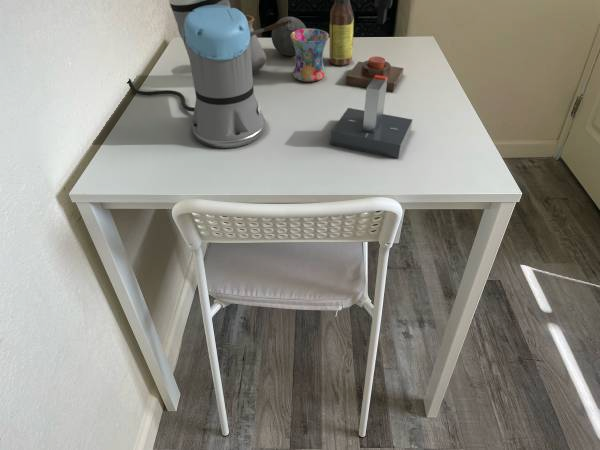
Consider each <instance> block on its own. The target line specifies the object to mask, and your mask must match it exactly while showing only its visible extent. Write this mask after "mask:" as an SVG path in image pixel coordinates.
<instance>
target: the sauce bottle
mask: <svg viewBox="0 0 600 450" xmlns="http://www.w3.org/2000/svg"><path fill="white" fill-rule="evenodd" d="M354 22H355V15H354V11H353V8H352V4H351V0H334V3H333V5H332V6H331V8H330V13H329V62H330V63H331V64H332V65H335V66H347V65H350V64H351V63H352V61H353V55H354V53H353V51H354V48H353V47H354V29H355V28H354V26H355V23H354Z"/></svg>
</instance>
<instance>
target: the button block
mask: <svg viewBox="0 0 600 450" xmlns="http://www.w3.org/2000/svg"><path fill="white" fill-rule="evenodd" d="M368 63H369V59H368V60H365V61H357V62H356V64H355V65H354V66H353V68H351V70H350V71H349V73H348V74H347V75H346V81H345V82H346V83H345V85H349V86H354V87H355V86H356V87H361V88H366V89H367V87H368V85H369V84H370V82H371V81H372V80H373V78H374V77H375V75H380V76H386V77H387V78H388V79H387V87H386V92H391V93H394V92H395V90H396V88H397V87H398V85H399V83H400V81H401V79H402V78H403V76H404V67H399V66H393V65H391V63H390V62H389V61H386V60H385V66H384V68H379V69H375V68H371V67H368Z"/></svg>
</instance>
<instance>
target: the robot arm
mask: <svg viewBox="0 0 600 450" xmlns="http://www.w3.org/2000/svg"><path fill="white" fill-rule="evenodd" d="M168 2H169V5H170V9H171V11H172V14H173V16H174V19H175V22H176V25H177V30H178V33H179V36H180V38H181V40H182V42H183V45H184V48H185V50H186V53H187V56H188V59H189V65H190V70H191V77H192V81H193V88H194V93H195V104H194V107H192V106H188V105H187V103H186V97H185V96H184V95H183V93H181V92H179V91H178V90H172V89H171V90H168V89H164V90H150V91H148V90H147V91H144V90H139V89H137V88H136V87H135V86H134V83H133V81H132V79H130V78H128V79H129V81H128V82H127V83H126V84H128V86H129V88H130V90H131V91H132V92H133V93H134V94H137V95H140V96H156V95H174V96H177V97H179V98H180V101H181V106H182V108H183V109H184V110H186V111H188V112H193V115H192V121H191V128H192V135H193V137H194V139H195V141H197V142H199V143H201V144H202V145H203V146H207V147H210V148H217V149H233V148H239V147H244V146H246V145H249V144H252V143H254V142H256V141H258V140H259V139H260V138H261V137H262V136H263V135H264V133H265V132H266V131H265V130H266V122H265V117H264V114H263V112H262V110H261V103H260V101H258V100H257V97H256V95H255V91H254V89H255V88H254V78H253V77H254V75H253V74H252V62H251V49H250V30H249V27H248V21H247V19H246V17H245V15H246V14H244V13H243V12H242V11H241V10H239V9H238V8H236V7H231V2H230V0H168ZM373 5H374V8H377V16H376V24H377V25H384V24H385V23H386V21H387V13H388V9H391V8H392V5H393V0H374V1H373Z"/></svg>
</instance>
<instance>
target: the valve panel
mask: <svg viewBox="0 0 600 450" xmlns="http://www.w3.org/2000/svg"><path fill="white" fill-rule="evenodd" d="M363 121H364V110H363V109H357V108H352V107H347V109H346V110H345V111H344V113H343V114H342V115H341V117H340V119H339V120H338V121H337V122H336V124H335V125H334V128H332V129H331V131H330V146H335V147H341V148H346V149H351V150H354V151H355V150H356V151H360V152H365V153H370V154H375V155H380V156H384V157H388V158H395V159H399V158H400V156H401V154H402V152H403V149H404V147H405V145H406V143H407V141H408V138H409V137H410V133H411V131H412V126H413V119H412V118H408V117H407V118H406V117H401V116H396V115H391V114H384V113H383V119H382V121H381V123H380V125H379V126H378V128H377V130H376V131H375V133H372V132H367V131H363Z"/></svg>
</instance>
